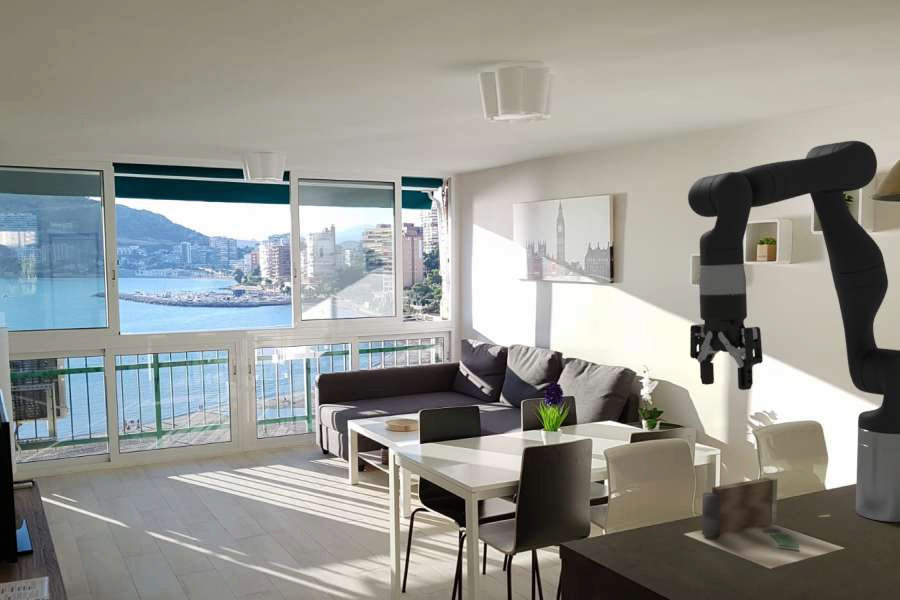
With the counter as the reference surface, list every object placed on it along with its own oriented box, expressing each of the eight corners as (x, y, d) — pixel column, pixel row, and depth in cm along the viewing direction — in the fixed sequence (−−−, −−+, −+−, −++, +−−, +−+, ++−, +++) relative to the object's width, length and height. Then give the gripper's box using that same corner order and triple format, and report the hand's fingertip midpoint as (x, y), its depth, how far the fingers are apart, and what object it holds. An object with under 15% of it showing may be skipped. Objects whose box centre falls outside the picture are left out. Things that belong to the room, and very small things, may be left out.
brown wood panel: (765, 518, 144) (766, 476, 143) (779, 523, 141) (780, 479, 141) (698, 533, 135) (699, 488, 135) (711, 538, 132) (712, 492, 132)
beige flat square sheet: (755, 526, 145) (755, 517, 145) (844, 556, 130) (844, 546, 130) (683, 542, 136) (683, 532, 136) (770, 577, 120) (770, 567, 120)
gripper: (772, 290, 125) (775, 389, 126) (709, 291, 138) (712, 380, 139) (737, 292, 122) (740, 393, 123) (676, 292, 135) (679, 384, 136)
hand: (725, 386), depth 131 cm, fingers open, 8 cm apart
